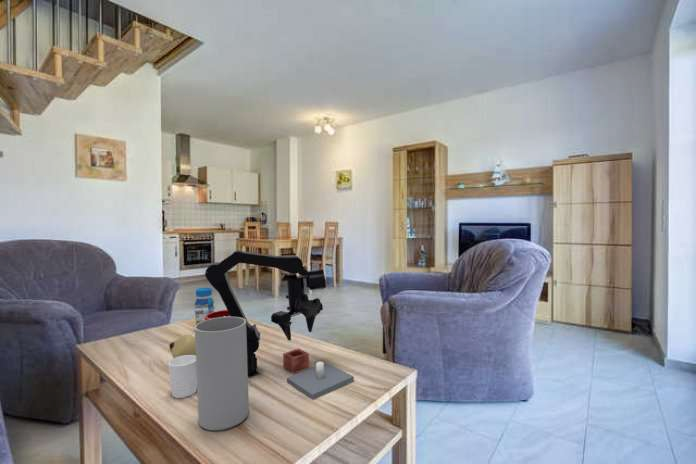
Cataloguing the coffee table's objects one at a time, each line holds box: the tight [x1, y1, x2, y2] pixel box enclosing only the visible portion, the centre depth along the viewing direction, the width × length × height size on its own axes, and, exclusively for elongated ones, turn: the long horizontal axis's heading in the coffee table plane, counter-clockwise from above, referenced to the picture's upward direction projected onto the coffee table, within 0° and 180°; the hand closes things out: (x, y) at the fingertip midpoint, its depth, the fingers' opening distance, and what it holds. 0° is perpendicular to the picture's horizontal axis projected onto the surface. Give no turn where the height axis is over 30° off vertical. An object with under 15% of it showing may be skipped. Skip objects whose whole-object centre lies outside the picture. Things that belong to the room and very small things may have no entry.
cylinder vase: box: [194, 316, 250, 431], centre depth 89 cm, size 12×12×25 cm
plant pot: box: [205, 309, 231, 320], centre depth 145 cm, size 13×13×12 cm
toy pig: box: [168, 334, 196, 359], centre depth 124 cm, size 10×12×11 cm
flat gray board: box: [286, 361, 355, 401], centre depth 108 cm, size 16×14×6 cm
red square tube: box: [282, 348, 310, 375], centre depth 118 cm, size 6×6×5 cm
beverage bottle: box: [194, 287, 215, 326], centre depth 158 cm, size 8×8×20 cm
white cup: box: [167, 355, 197, 399], centre depth 103 cm, size 8×8×10 cm
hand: (300, 336), depth 118 cm, fingers open, 9 cm apart
